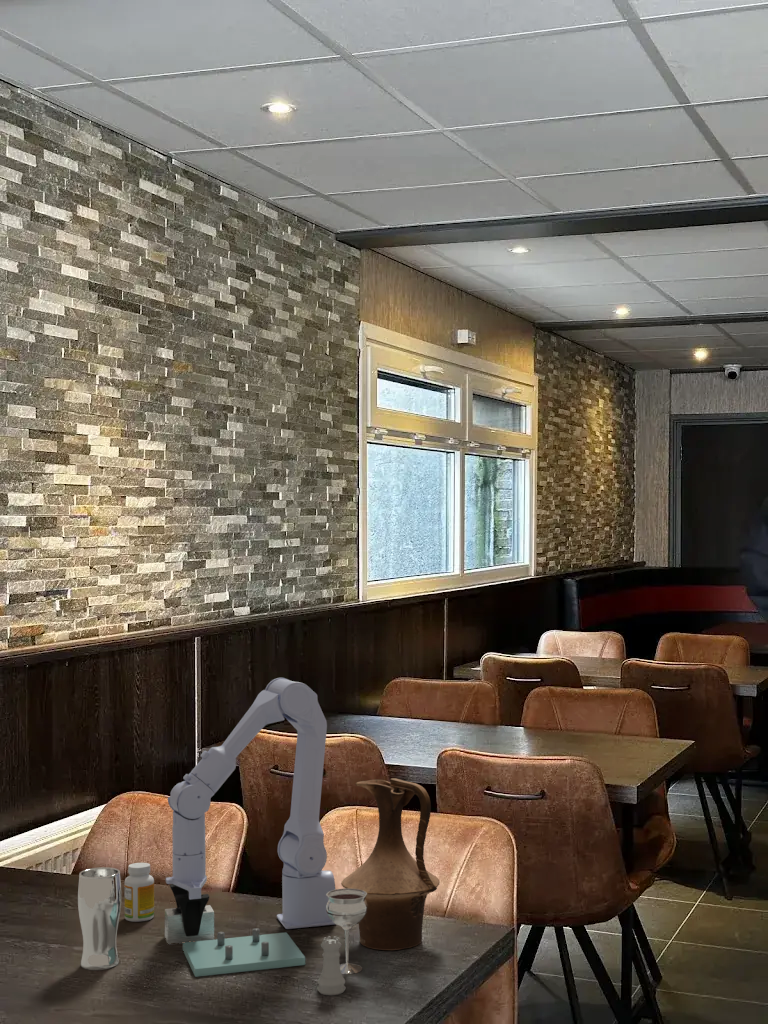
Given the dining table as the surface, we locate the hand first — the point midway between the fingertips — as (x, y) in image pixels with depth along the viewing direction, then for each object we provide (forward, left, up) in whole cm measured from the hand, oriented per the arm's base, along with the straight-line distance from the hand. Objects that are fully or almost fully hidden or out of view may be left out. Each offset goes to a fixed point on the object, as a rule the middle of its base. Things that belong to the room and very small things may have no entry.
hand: (189, 930), depth 219 cm
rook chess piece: (-17, +33, -2) cm, 37 cm away
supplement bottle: (+7, -15, -2) cm, 17 cm away
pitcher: (-33, +13, -2) cm, 36 cm away
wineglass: (-22, +24, -2) cm, 33 cm away
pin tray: (-7, +13, -1) cm, 15 cm away
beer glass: (+16, +9, -2) cm, 18 cm away
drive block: (0, 0, -2) cm, 2 cm away
